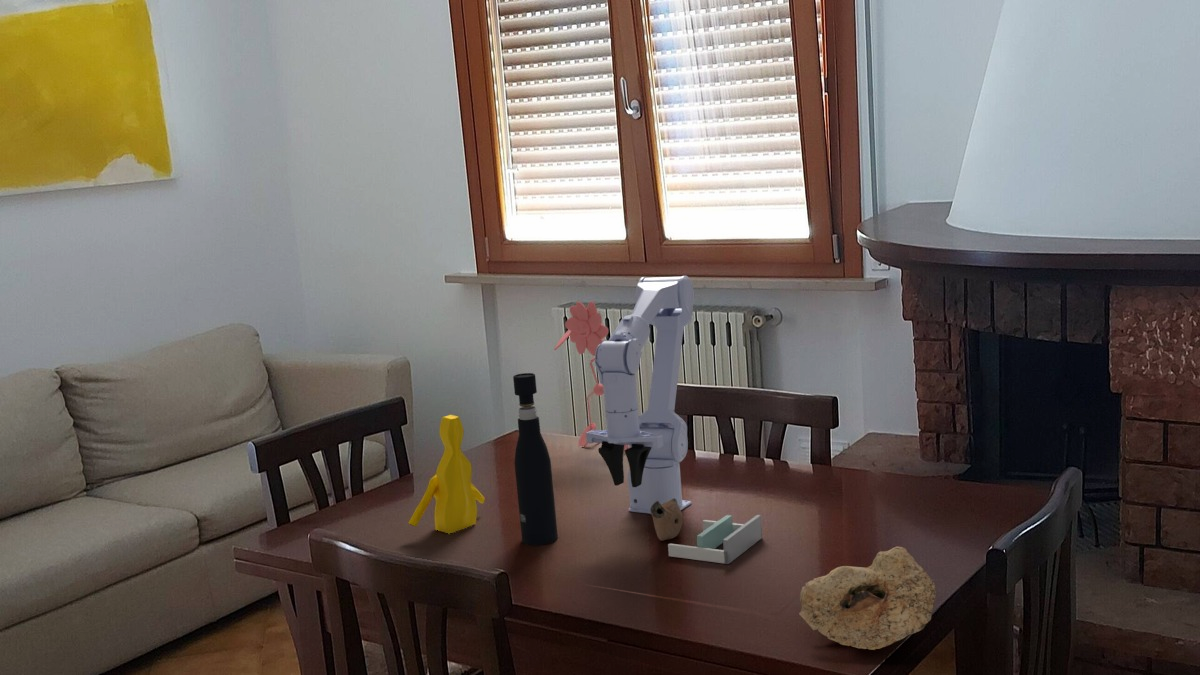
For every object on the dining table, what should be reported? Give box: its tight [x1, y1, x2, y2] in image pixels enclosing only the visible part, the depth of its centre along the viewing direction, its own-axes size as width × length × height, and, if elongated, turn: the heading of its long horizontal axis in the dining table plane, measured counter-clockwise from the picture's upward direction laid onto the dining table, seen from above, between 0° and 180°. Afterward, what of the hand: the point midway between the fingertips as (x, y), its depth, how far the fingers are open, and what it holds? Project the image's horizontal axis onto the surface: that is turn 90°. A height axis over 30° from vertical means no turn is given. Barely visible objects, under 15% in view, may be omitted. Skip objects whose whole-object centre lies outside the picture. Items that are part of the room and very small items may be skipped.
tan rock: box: [798, 546, 937, 651], centre depth 159 cm, size 18×14×8 cm
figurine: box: [553, 300, 629, 451], centre depth 257 cm, size 15×26×35 cm, turn 44°
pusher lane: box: [667, 514, 763, 565], centre depth 196 cm, size 11×13×4 cm
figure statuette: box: [407, 414, 486, 535], centre depth 215 cm, size 18×8×22 cm, turn 135°
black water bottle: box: [512, 372, 559, 547], centre depth 205 cm, size 6×6×30 cm
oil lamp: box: [650, 498, 683, 541], centre depth 201 cm, size 9×4×8 cm, turn 150°
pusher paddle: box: [696, 514, 734, 549], centre depth 196 cm, size 1×11×4 cm, turn 148°
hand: (627, 484), depth 204 cm, fingers open, 3 cm apart
